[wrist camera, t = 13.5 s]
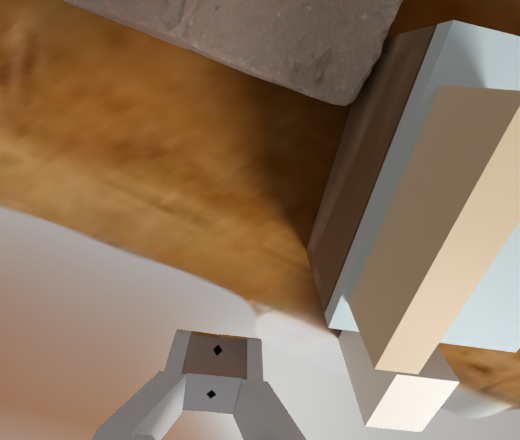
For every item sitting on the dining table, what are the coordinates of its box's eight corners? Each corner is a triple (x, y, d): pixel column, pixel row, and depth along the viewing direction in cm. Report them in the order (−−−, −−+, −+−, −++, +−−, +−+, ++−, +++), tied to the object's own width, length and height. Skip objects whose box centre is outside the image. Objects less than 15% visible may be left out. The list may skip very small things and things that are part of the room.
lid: (701, 89, 12) (956, 99, 8) (503, 339, 19) (580, 422, 14) (437, 24, 11) (559, -8, 7) (324, 315, 18) (347, 396, 13)
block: (405, 299, 27) (459, 381, 20) (380, 344, 29) (421, 431, 22) (358, 292, 26) (397, 374, 19) (338, 338, 29) (364, 426, 22)
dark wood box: (548, 83, 19) (695, 88, 12) (440, 271, 25) (501, 336, 19) (370, 41, 18) (434, 24, 11) (306, 250, 24) (323, 312, 18)
